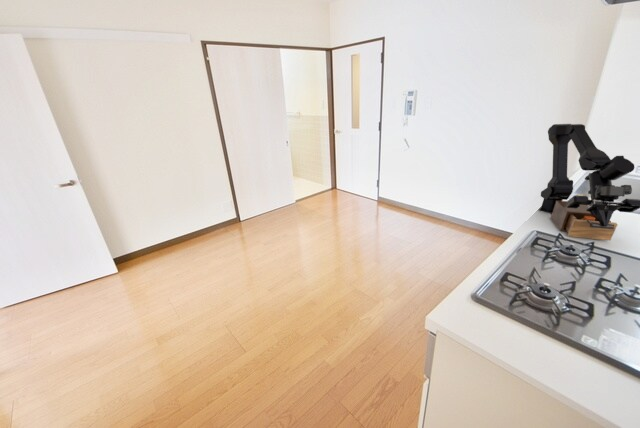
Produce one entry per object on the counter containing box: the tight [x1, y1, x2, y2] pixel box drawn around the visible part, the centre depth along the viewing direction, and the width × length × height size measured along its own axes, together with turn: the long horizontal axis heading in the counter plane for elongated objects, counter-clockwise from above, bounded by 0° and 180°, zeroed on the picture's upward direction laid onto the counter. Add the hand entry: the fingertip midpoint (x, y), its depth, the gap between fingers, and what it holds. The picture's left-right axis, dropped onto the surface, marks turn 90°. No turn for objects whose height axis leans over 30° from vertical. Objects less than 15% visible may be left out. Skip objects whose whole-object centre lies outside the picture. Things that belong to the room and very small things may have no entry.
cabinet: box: [550, 200, 612, 233], centre depth 113 cm, size 12×14×9 cm
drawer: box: [564, 214, 618, 241], centre depth 105 cm, size 15×12×8 cm
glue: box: [582, 216, 595, 221], centre depth 107 cm, size 4×4×6 cm
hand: (605, 226), depth 96 cm, fingers closed, pressing on drawer
